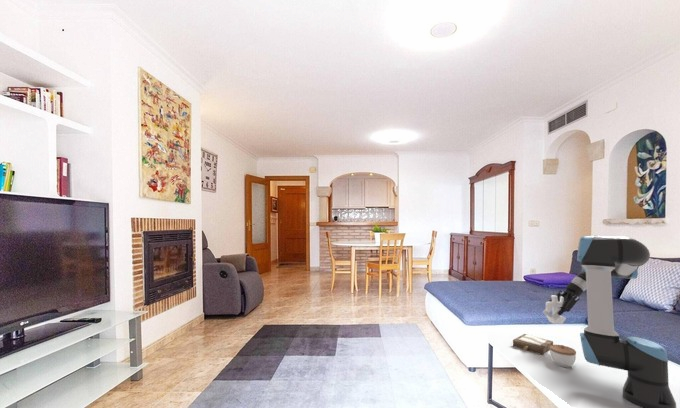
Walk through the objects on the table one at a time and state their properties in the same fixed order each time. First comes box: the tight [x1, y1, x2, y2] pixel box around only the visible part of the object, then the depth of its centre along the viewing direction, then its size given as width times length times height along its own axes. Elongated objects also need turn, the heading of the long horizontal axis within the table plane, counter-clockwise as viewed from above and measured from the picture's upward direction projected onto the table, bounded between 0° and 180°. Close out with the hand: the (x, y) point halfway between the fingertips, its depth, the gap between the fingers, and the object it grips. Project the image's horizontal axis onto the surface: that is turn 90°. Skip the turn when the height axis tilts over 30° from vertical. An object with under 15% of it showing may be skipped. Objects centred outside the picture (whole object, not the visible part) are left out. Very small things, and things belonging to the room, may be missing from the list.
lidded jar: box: [549, 344, 577, 368], centre depth 158 cm, size 11×11×9 cm
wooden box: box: [512, 333, 554, 356], centre depth 179 cm, size 20×15×4 cm
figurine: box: [544, 294, 567, 325], centre depth 177 cm, size 7×9×15 cm
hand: (548, 316), depth 177 cm, fingers closed on figurine, 7 cm apart
